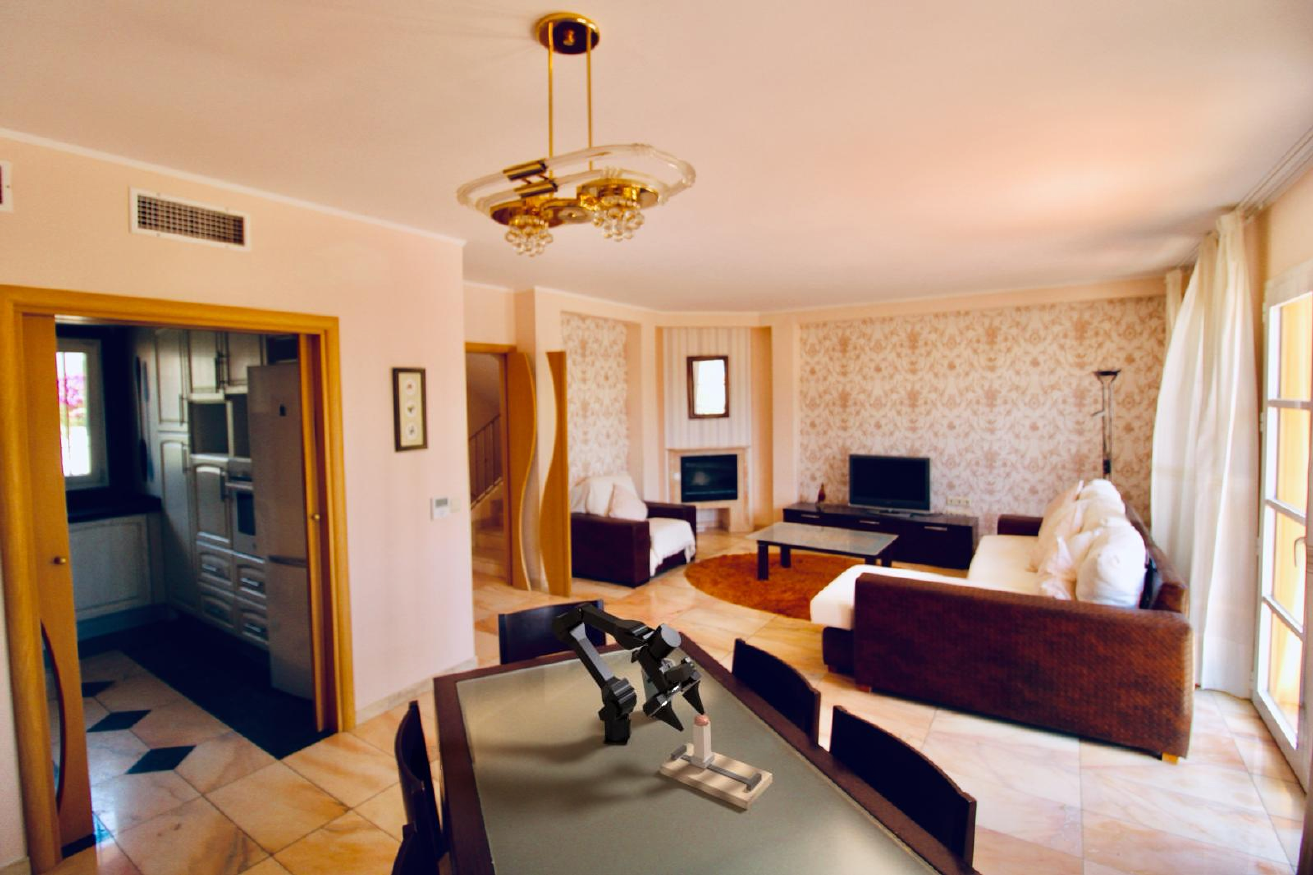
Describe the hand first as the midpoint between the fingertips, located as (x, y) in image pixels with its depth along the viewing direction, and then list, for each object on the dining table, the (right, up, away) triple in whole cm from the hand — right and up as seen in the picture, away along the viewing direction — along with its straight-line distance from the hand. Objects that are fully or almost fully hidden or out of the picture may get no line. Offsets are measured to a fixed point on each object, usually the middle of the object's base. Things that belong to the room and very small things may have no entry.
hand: (693, 722), depth 151 cm
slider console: (+5, -12, -3) cm, 13 cm away
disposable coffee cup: (-8, -11, +28) cm, 31 cm away
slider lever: (+2, -9, -1) cm, 9 cm away
